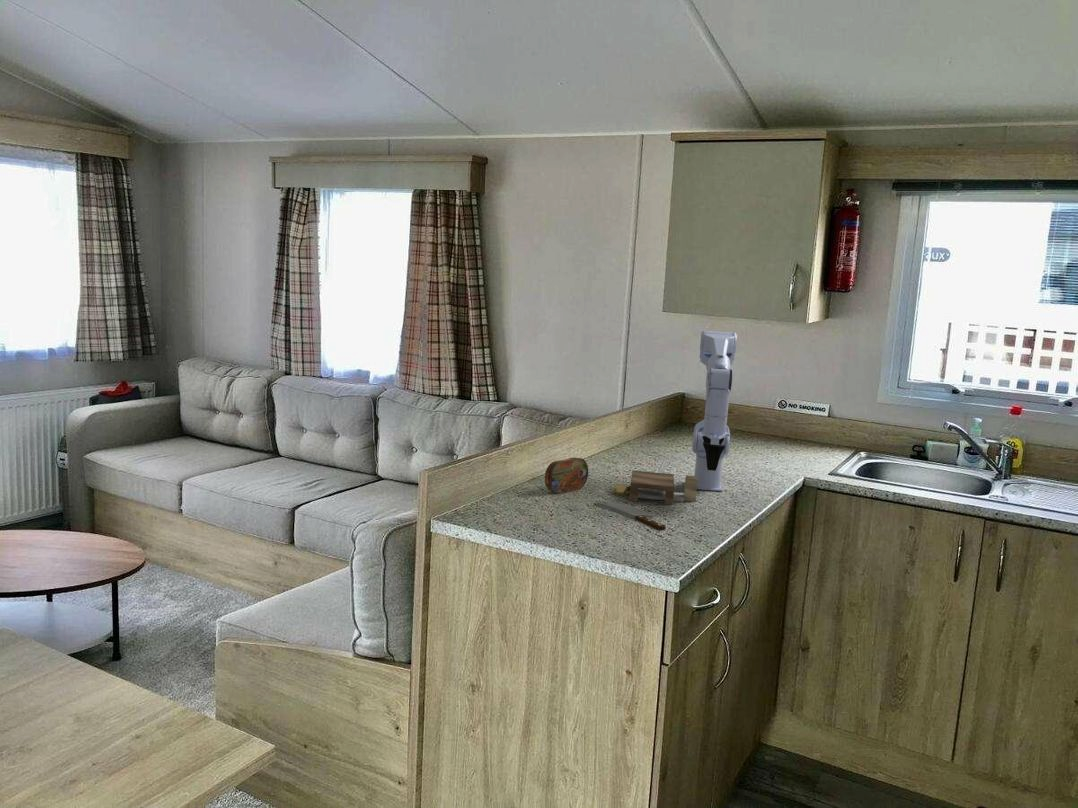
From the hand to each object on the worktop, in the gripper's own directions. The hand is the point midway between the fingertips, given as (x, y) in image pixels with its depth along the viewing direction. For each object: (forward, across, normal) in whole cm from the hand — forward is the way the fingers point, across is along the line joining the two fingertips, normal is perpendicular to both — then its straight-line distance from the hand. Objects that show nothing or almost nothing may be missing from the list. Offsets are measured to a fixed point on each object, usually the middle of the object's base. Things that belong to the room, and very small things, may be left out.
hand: (711, 466), depth 232 cm
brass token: (+9, -2, +22) cm, 24 cm away
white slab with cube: (+9, -1, +11) cm, 15 cm away
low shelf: (+9, -2, +15) cm, 17 cm away
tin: (+9, -4, +37) cm, 38 cm away
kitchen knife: (+9, -21, +17) cm, 28 cm away
